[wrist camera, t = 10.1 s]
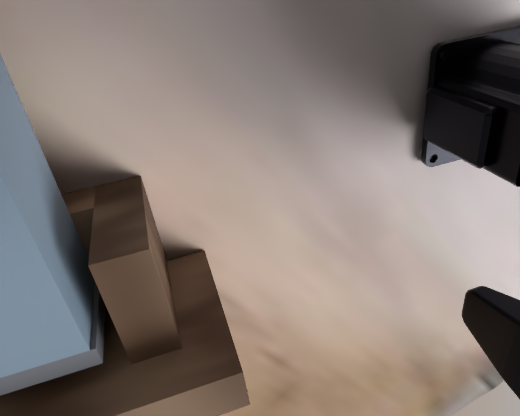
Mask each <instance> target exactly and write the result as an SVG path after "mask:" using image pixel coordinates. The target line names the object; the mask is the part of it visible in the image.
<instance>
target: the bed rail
mask: <svg viewBox="0 0 520 416" xmlns="http://www.w3.org/2000/svg"><path fill="white" fill-rule="evenodd" d="M88 262H89V257H88V255H87V252H86V250H85V248H84V246H83V243H82V241H81V239H80V236H79V234H78V232H77V229H76V227H75V225H74V223H73V220H72V218H71V216H70V213H69V211H68V209H67V206H66V204H65V202H64V200H63V197H62V195H61V193H60V190H59V188H58V186H57V183H56V181H55V179H54V177H53V174H52V172H51V170H50V167H49V165H48V163H47V160H46V158H45V156H44V153H43V151H42V149H41V147H40V144H39V142H38V140H37V137H36V135H35V133H34V130H33V128H32V126H31V124H30V121H29V119H28V117H27V114H26V112H25V110H24V107H23V105H22V103H21V101H20V98H19V96H18V94H17V91H16V89H15V87H14V84H13V82H12V80H11V78H10V75H9V73H8V71H7V68H6V66H5V64H4V61H3V59H2V57H1V55H0V396H1V395H4V394H7V393H10V392H13V391H17V390H20V389H23V388H26V387H29V386H32V385H36V384H39V383H42V382H45V381H48V380H51V379H55V378H58V377H61V376H64V375H67V374H70V373H74V372H77V371H80V370H83V369H86V368H89V367H92V366H96V365H99V364H102V363H103V351H104V322H105V303H104V301H103V298H102V296H101V294H100V291H99V289H98V287H97V285H96V282H95V280H94V278H93V276H92V273H91V271H90V269H89V267H88Z"/></svg>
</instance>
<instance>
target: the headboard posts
mask: <svg viewBox="0 0 520 416" xmlns="http://www.w3.org/2000/svg"><path fill="white" fill-rule="evenodd" d="M62 197H63V200H64V202H65V204H66V206H67V209H68V211H69V213H70V216H71V218H72V220H73V223H74V225H75V227H76V229H77V232H78V234H79V236H80V239H81V241H82V243H83V246H84V248H85V250H86V252H87V255H88V257H89V262H88V267H89V269H90V271H91V273H92V276H93V278H94V280H95V282H96V285H97V287H98V289H99V291H100V294H101V296H102V298H103V301H104V303H105V322H104V351H103V363H102V364H99V365H96V366H92V367H89V368H86V369H83V370H80V371H77V372H74V373H70V374H67V375H64V376H61V377H58V378H55V379H51V380H48V381H45V382H42V383H39V384H36V385H32V386H29V387H26V388H23V389H20V390H17V391H13V392H10V393H7V394H4V395H1V396H0V416H219V415H222V414H225V413H228V412H230V411H233V410H236V409H239V408H242V407H244V406H247V405H250V402H249V397H248V393H247V389H246V384H245V380H244V375H243V371H242V368H241V365H240V362H239V359H238V355H237V352H236V349H235V346H234V343H233V340H232V336H231V333H230V330H229V327H228V324H227V321H226V317H225V314H224V311H223V308H222V305H221V302H220V298H219V295H218V292H217V289H216V286H215V283H214V280H213V276H212V273H211V270H210V267H209V264H208V261H207V257H206V254H205V251H200V252H197V253H193V254H190V255H186V256H182V257H179V258H175V259H172V260H168V261H167V260H166V257H165V253H164V250H163V247H162V244H161V240H160V237H159V234H158V231H157V227H156V224H155V221H154V218H153V214H152V211H151V208H150V205H149V201H148V198H147V195H146V192H145V188H144V185H143V182H142V179H141V176H138V177H134V178H129V179H125V180H121V181H117V182H113V183H108V184H104V185H100V186H96V187H91V188H87V189H83V190H79V191H75V192H70V193H66V194H62Z"/></svg>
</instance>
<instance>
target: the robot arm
mask: <svg viewBox="0 0 520 416" xmlns="http://www.w3.org/2000/svg"><path fill="white" fill-rule="evenodd" d="M443 50H444V55H443V56H442V58H441V52H442V51H443ZM432 155H433V157H432V158H431V159H430V157H431V156H432ZM460 159H462V160H464V161H465V162H467V163H469V164H471V165H473V166H475V167H477V168H484V169H485V170H487V171H489V172H491V173H493V174H495V175H497V176H499V177H500V178H502V179H504V180H506V181H508V182H510V183H512V184H514V185H515V186H517V187H520V26H519V27H514V28H509V29H504V30H499V31H494V32H489V33H484V34H479V35H475V36H470V37H465V38H460V39H455V40H450V41H445V42H441V43H438V44H437V45H436V46H435V47H434V48H433V50H432V52H431V58H430V69H429V80H428V91H427V99H426V109H425V120H424V131H423V145H422V155H421V160H422V162H423V163H424V164H425V165H427V166H429V167H434V166H438V165H441V164H445V163H449V162H453V161H456V160H460ZM462 317H463V320H464V323H465V324H466V326H467V327H468V329H469V330H470V332H471V333H472V335H473V336H474V338H475V339H476V340H477V342H478V343H479V345H480V346H481V348H482V349H483V351H484V352H485V354H486V355H487V357H488V358H489V360H490V361H491V362H492V364H493V365H494V367H495V368H496V370H497V371H498V373H499V374H500V375H501V377H502V378H503V379H504V380H505V382H506V383H507V384H508V386H509V387H510V388H511V389H512V390H513V391H514V393H515V394H516V395H517V396H518V398H519V399H520V300H518V299H515V298H513V297H510V296H508V295H505V294H503V293H500V292H498V291H495V290H493V289H490V288H488V287H484V286H479V287H476V288H473V289H470V290H468V291H467V292H466V294H465V299H464V304H463V310H462Z"/></svg>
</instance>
